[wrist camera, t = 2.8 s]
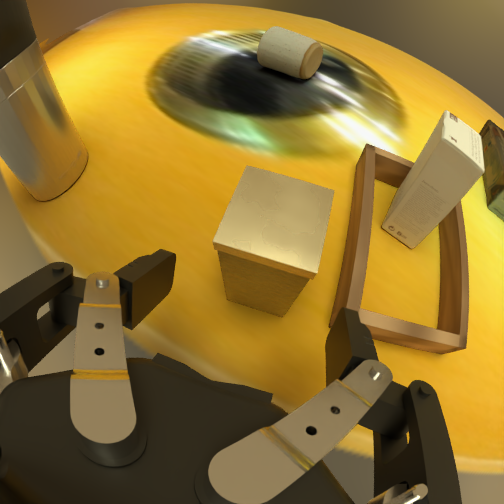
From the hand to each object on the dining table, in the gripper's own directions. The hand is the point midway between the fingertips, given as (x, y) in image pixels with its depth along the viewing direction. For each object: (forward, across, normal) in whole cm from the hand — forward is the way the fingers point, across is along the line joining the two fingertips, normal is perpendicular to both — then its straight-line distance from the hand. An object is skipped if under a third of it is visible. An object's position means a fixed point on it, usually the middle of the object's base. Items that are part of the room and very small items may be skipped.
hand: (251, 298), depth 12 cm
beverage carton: (+29, -33, -16) cm, 47 cm away
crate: (+14, -12, -2) cm, 18 cm away
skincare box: (+17, -12, -4) cm, 21 cm away
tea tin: (+9, 0, +3) cm, 10 cm away
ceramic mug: (+34, +6, -22) cm, 41 cm away
